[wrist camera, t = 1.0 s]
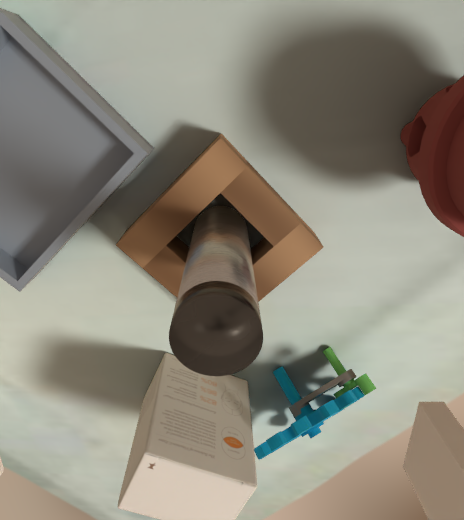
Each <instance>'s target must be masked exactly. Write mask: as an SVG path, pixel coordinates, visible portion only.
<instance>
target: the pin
mask: <svg viewBox="0 0 464 520" xmlns="http://www.w3.org/2000/svg"><path fill="white" fill-rule="evenodd" d="M169 341H170V346H171V349H172V351H173V353H174V355H175V356H176V358H177V359H178V360H179V361H180V362H181V363H182V364H183V365H184V366H185V367H187V368H188V369H190V370H192V371H194V372H196V373H199V374H202V375H207V376H226V375H230V374H234V373H236V372H239V371H241V370H243V369H244V368H246V367H247V366H249V365H250V364H251V363H252V362H253V361H254V360H255V359H256V357H257V356H258V354H259V352H260V350H261V347H262V343H263V331H262V324H261V317H260V311H259V304H258V297H257V291H256V284H255V277H254V271H253V264H252V257H251V251H250V244H249V237H248V231H247V225H246V222H245V220H244V218H243V217H242V215H241V214H240V213H239V212H237V211H236V210H234V209H232V208H230V207H226V206H215V207H211V208H209V209H207V210H205V211H204V212H203V213H201V215H200V216H199V217H198V219H197V220H196V223H195V226H194V230H193V235H192V239H191V243H190V247H189V251H188V255H187V260H186V264H185V268H184V272H183V276H182V280H181V285H180V289H179V293H178V297H177V301H176V305H175V310H174V314H173V318H172V322H171V326H170V331H169Z"/></svg>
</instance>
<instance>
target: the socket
mask: <svg viewBox="0 0 464 520" xmlns="http://www.w3.org/2000/svg"><path fill="white" fill-rule="evenodd" d="M220 193H221V194H222V195H223V196H224V197H225V198H226V199H227V200H228V201H229V202H230V203H231V204H232V205H233V206H234V207H235V208H236V209H237V210H238V211H239V212H240V213H241V214H242V215H243V216H244V217H245V218H246V219H247V220H248V221H249V222H250V223H251V224H252V225H253V226H254V227H255V228H256V229H257V230H258V231H259V232H260V233H261V234H262V235H263V236H264V238H263V239H262V240H261V241H259V242H258V243H257V244H256V245H255V246H254V247H253V248H252V249H250V251H251V257H252V264H253V271H254V277H255V284H256V291H257V297H258V302H259V301H260V300H261V299H262V298H264V297H265V296H266V295H267V294H268V293H269V292H271V291H272V290H273V289H274V288H275V287H277V286H278V285H279V284H280V283H281V282H283V281H284V280H285V279H286V278H287V277H289V276H290V275H291V274H292V273H293V272H295V271H296V270H297V269H298V268H299V267H301V266H302V265H303V264H304V263H305V262H306V261H308V260H309V259H310V258H311V257H312V256H314V255H315V254H316V253H317V252H318V251H320V250H321V249H322V248H323V246H322V244H321V242H320V241H319V239H318V238H317V236H316V234H315V233H314V232H313V231H312V230H311V228H310V227H309V226H308V225H307V224H306V223H305V222H304V221H303V220H302V219H301V218H300V217H299V216H298V215H297V214H296V213H295V211H294V210H293V209H292V208H291V207H290V206H289V205H288V204H287V203H286V202H285V201H284V200H283V199H282V198H281V197H280V195H279V194H278V193H277V192H276V191H275V190H274V189H273V188H272V187H271V186H270V185H269V184H268V183H267V182H266V181H265V179H264V178H263V177H262V176H261V175H260V174H259V173H258V172H257V171H256V170H255V169H254V168H253V167H252V166H251V165H250V163H249V162H248V161H247V160H246V159H245V158H244V157H243V156H242V155H241V154H240V153H239V152H238V151H237V150H236V149H235V147H234V146H233V145H232V144H231V143H230V142H229V141H228V140H227V139H226V138H225V137H224V136H223V135H222V134H220V135H219V136H218V137H217V138H216V139H215V140H214V141H213V142H212V143H211V144H210V145H209V146H208V147H207V148H206V149H205V150H204V151H203V153H202V154H201V155H200V156H199V157H198V158H197V159H196V160H195V161H194V162H193V163H192V164H191V165H190V166H189V167H188V168H187V169H186V170H185V171H184V172H183V173H182V174H181V175H180V176H179V177H178V178H177V179H176V180H175V181H174V182H173V183H172V184H171V185H170V186H169V187H168V188H167V189H166V190H165V191H164V192H163V193H162V195H161V196H160V197H159V198H158V199H157V200H156V201H155V202H154V203H153V204H152V205H151V206H150V207H149V208H148V209H147V210H146V211H145V212H144V213H143V214H142V215H141V216H140V217H139V218H138V219H137V220H136V221H135V222H134V223H133V224H132V225H131V226H130V227H129V228H128V229H127V230H126V232H125V233H124V234H123V236H122V237H121V238H120V240H119V241H118V243H117V244H116V246H117V247H119V248H120V249H121V250H122V251H123V252H124V253H126V254H127V255H128V256H129V257H130V258H131V259H133V260H134V261H135V262H136V263H137V264H138V265H140V266H141V267H142V268H143V269H144V270H145V271H147V272H148V273H149V274H150V275H151V276H152V277H154V278H155V279H156V280H157V281H158V282H159V283H161V284H162V285H163V286H164V287H165V288H166V289H168V290H169V291H170V292H171V293H172V294H173V295H175V296H176V297H178V293H179V289H180V285H181V280H182V276H183V272H184V268H185V264H186V260H187V255H188V251H189V247H188V246H187V245H186V244H185V243H184V242H183V241H182V240H181V239H179V238H178V237H177V236H176V235H177V234H178V233H179V232H180V231H182V230H183V229H184V228H185V227H186V226H187V225H188V224H189V223H190V222H191V221H192V220H193V219H194V218H195V217H196V216H197V215H198V214H199V213H200V212H201V211H202V210H203V209H204V208H205V207H206V206H207V205H208V204H209V203H210V202H211V201H212V200H213V199H215V198H216V197H217V196H218V195H219V194H220Z"/></svg>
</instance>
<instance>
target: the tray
mask: <svg viewBox="0 0 464 520" xmlns="http://www.w3.org/2000/svg"><path fill="white" fill-rule="evenodd" d="M153 149H154V147H152V146H151V145H150V144H149V143H148V142H147V141H146V140H145V139H144V138H143V137H142V136H141V135H140V134H139V133H138V132H137V131H136V130H135V129H134V128H133V127H132V126H131V125H130V124H129V123H128V122H127V121H126V120H125V119H124V118H123V117H122V116H121V115H120V114H119V113H118V112H117V111H116V110H115V109H114V108H113V107H112V106H111V105H110V104H109V103H108V102H107V101H106V100H105V99H104V98H103V97H102V96H101V95H100V94H99V93H98V92H97V91H95V90H94V89H93V88H92V87H91V86H90V85H89V84H88V83H87V82H86V81H85V80H84V79H83V78H82V77H81V76H80V75H79V74H78V73H77V72H76V71H75V70H74V69H73V68H72V67H71V66H70V65H69V64H68V63H67V62H66V61H65V60H64V59H63V58H62V57H61V56H60V55H59V54H58V53H57V52H56V51H55V50H54V49H53V48H52V47H51V46H50V45H49V44H48V43H47V42H46V41H45V40H44V39H43V38H42V37H41V36H40V35H38V34H37V33H36V32H35V31H34V30H33V29H32V28H31V27H30V26H29V25H28V24H27V23H26V22H25V21H24V20H23V19H22V18H21V17H20V16H19V15H17V14H15V13H12V12H9V11H6V10H4V9H1V8H0V277H1V278H2V279H3V280H5V281H6V282H7V283H9V284H10V285H11V286H13V287H14V288H15V289H17V290H18V291H19V292H20V291H21V290H22V289H23V288H24V287H25V286H26V285H27V284H28V283H29V282H30V281H31V280H33V279H34V278H35V277H36V275H37V274H38V273H39V272H40V271H41V270H42V269H43V268H44V267H45V266H46V265H47V264H48V263H49V261H50V260H51V259H52V258H53V257H54V256H55V255H56V254H57V253H58V252H59V251H60V250H61V249H62V247H63V246H64V245H65V244H66V243H67V242H68V241H69V240H70V239H71V238H72V237H73V236H74V235H75V233H76V232H77V231H78V230H79V229H80V228H81V227H82V226H83V225H84V224H85V223H86V222H87V221H88V219H89V218H90V217H91V216H92V215H93V214H94V213H95V212H96V211H97V210H98V209H99V208H100V207H101V205H102V204H103V203H104V202H105V201H106V200H107V199H108V198H109V197H110V196H111V195H112V194H113V193H114V191H115V190H116V189H117V188H118V187H119V186H120V185H121V184H122V183H123V182H124V181H125V180H126V179H127V177H128V176H129V175H130V174H131V173H132V172H133V171H134V170H135V169H136V168H137V167H138V166H139V164H140V163H141V162H142V161H143V160H144V159H145V158H146V157H147V156H148V155H149V154H150V153H151V152H152V150H153Z"/></svg>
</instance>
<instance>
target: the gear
mask: <svg viewBox="0 0 464 520" xmlns="http://www.w3.org/2000/svg"><path fill="white" fill-rule="evenodd" d="M323 353H324V354H325V356H326V357H327V359H328V360H329V362H330V363H331V365H332V366H333V368H334V369H335V371H336V373H337V374H338V377H336V378H335V379H333V380H331V381H330V382H328V383H327V384H325V385H323V386H322V387H320V388H319V389H317V390H315V391H314V392H312V393H310V394H309V395H307V396H306V397H304V398H301V396H300V395H299V393H298V391H297V390H296V388H295V386H294V385H293V383H292V381H291V380H290V378H289V376H288V375H287V373H286V371H285V369H284V368H283V367H280V368H278V369H276V370H275V371H274V372H273V374H274V376H275V377H276V379H277V381H278V382H279V384H280V386H281V388H282V389H283V391H284V393H285V395H286V396H287V398H288V400H289V402H290V403H291V406H290V407H289V409H290V411H291V413H292V414H293V416H294V418H295V420H296V421H295V422H294V423H293V424H291V426H290V427H289V428H287V429H286V430H284V431H282V432H279V433H277V434H275V435H274V436H272V437H271V438H269V439H268V440H266V442H264V443H263V444H261V445H259V446H258V447H256V448H255V449H254V451H255V453H256V455H257V457H258V459H262V458H264V457H265V456H267V455H268V454H270V453H272V452H274V451H276V450H277V449H279V448H281V447H282V446H284V445H285V444H287V443H289V442H291V441H292V440H294V439H296V438H297V437H299V436H301V435H302V437H303V436H305V435H306V434H308V435H309V436H310V438H312V437H314V436H315V435H317V434H319V433H320V432H321V430H320V429H319V427H320V426H321V425H323V424H324V423H323V422H324V421H325V420H326V419H328V418H330V417H331V416H333V415H335V414H337V413H338V412H340V411H342V410H343V409H344V408H346V407H348V406H349V405H351V404H353V403H354V402H356V401H357V400H359V399H360V398H362V397H363V396H365V395H366V394H368V393H370V392H371V391H373V390H374V389H376V387H375V386H374V384H373V383H372V382H371V380H370V379H369V377H368V376H367V374H364V375H362V376H361V377H359V378H357V379H356V380H355V381H354V378H356V375H355V374H354V372H353V371H352V369H350V370H348V371H346V370H345V369H344V367H343V366H342V364H341V363H340V361H339V360H338V358H337V357H336V355H335V354H334V352H333V351H332V349H331V348H330V347H329V348H327V349H325V350H324V351H323ZM336 385H338V386H339V387H341V386H344V388H343V389H341V390H339V391H338V392H336V393H335V394H334V396H335V397H336V399H335V400H331V401H329V402H328V403H326V404H324V405H322V406H321V407H319V408H318V409H317V410H313V409H312V408H311V406H310V404H309V402H310V401H312V400H314V399H315V398H317V397H319V396H320V395H322V394H323V393H325V392H327V391H328V390H330V389H331V388H333V387H335V386H336ZM356 386H358V387H356ZM355 387H356V388H355ZM359 387H360V388H359ZM353 388H354V389H353ZM352 389H353V390H352ZM361 390H362V391H361ZM363 393H364V394H363Z"/></svg>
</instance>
